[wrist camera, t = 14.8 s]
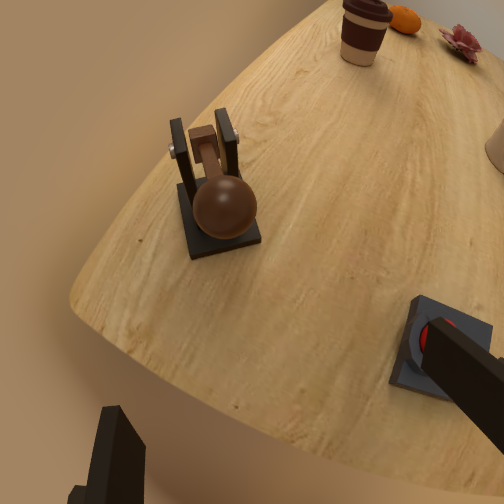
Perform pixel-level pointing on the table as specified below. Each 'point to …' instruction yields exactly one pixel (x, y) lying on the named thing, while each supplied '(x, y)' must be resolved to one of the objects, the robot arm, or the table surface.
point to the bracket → (227, 140)
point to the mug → (497, 148)
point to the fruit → (405, 20)
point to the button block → (410, 350)
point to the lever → (219, 191)
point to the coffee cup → (363, 30)
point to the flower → (463, 42)
